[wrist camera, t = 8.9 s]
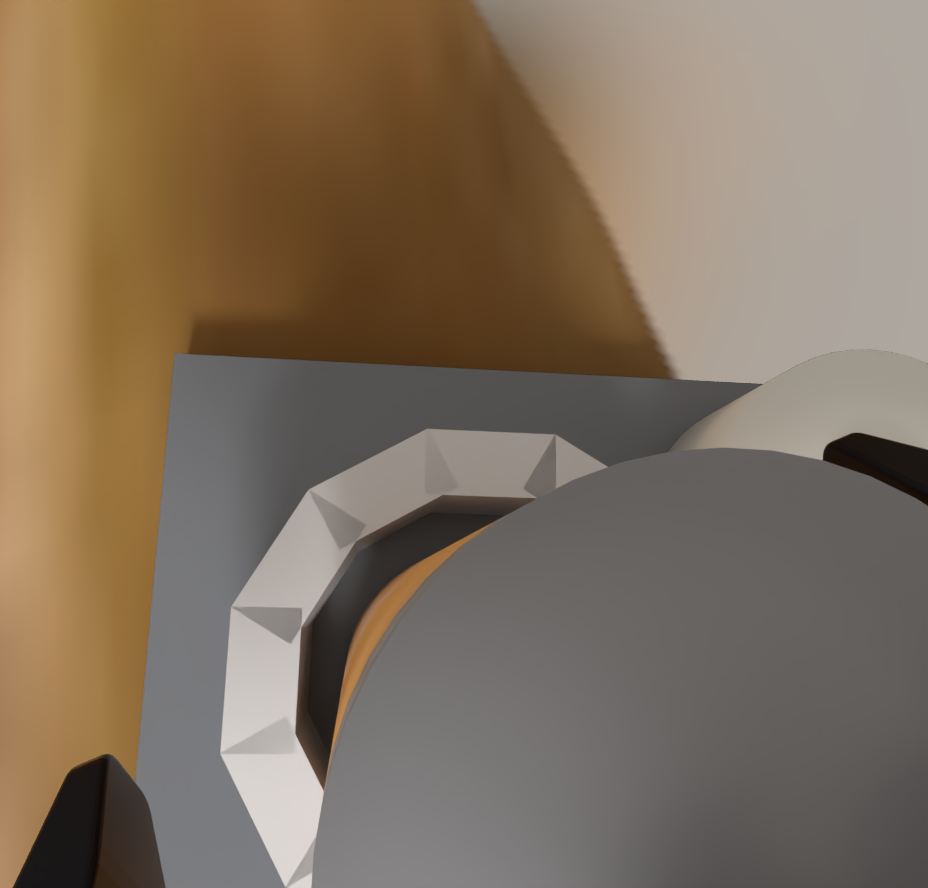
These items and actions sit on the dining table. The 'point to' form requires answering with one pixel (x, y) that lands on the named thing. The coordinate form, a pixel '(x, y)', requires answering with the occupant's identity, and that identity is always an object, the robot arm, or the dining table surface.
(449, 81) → the dining table surface
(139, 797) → the robot arm
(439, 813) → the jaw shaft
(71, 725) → the dining table surface
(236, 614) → the housing
